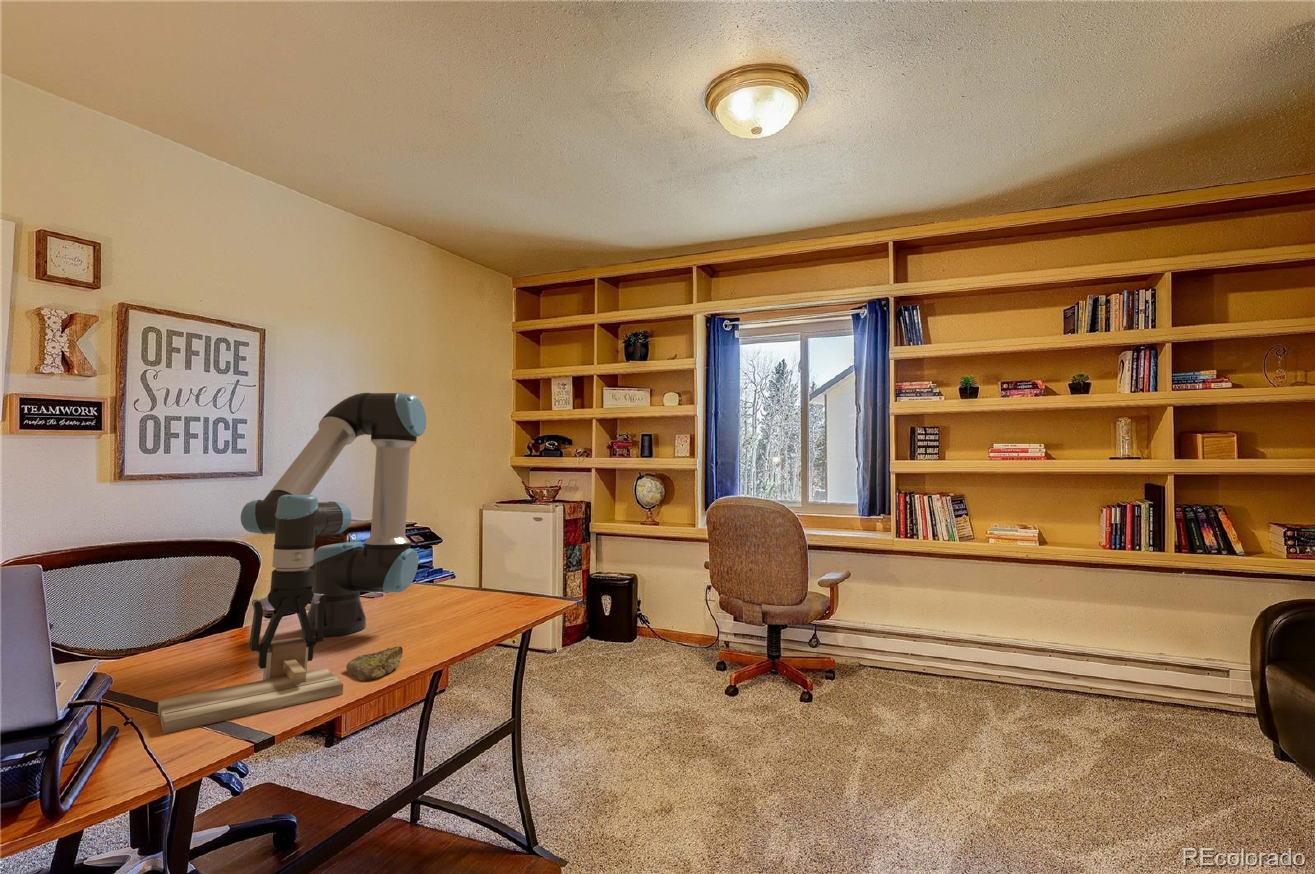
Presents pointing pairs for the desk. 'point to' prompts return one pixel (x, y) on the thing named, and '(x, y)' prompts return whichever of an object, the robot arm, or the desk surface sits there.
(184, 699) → the board
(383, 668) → the rock
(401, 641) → the desk surface
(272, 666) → the brown blocky t-shaped piece
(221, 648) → the desk surface
